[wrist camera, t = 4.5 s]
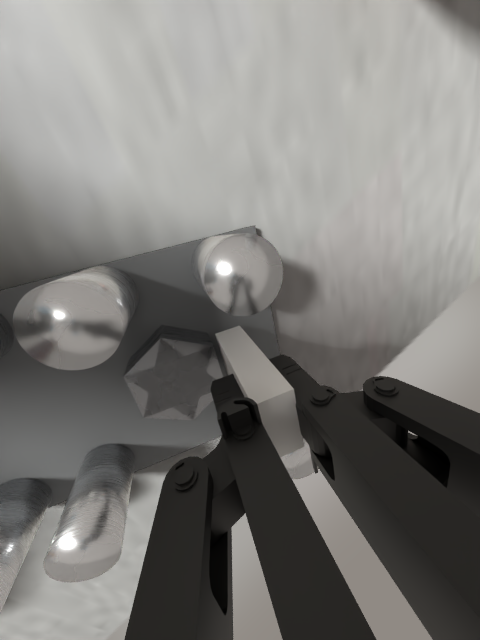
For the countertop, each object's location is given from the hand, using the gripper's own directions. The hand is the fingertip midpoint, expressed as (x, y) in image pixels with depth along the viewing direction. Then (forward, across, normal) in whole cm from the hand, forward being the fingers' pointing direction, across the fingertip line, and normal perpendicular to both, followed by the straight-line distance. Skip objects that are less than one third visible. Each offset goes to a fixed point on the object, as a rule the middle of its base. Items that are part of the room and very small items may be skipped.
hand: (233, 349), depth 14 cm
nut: (+1, -3, 0) cm, 4 cm away
